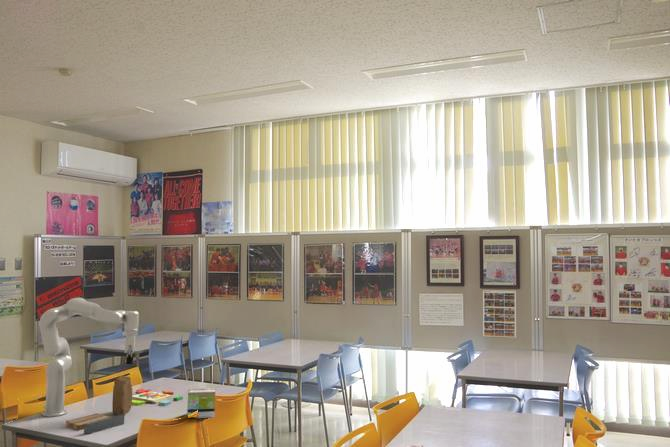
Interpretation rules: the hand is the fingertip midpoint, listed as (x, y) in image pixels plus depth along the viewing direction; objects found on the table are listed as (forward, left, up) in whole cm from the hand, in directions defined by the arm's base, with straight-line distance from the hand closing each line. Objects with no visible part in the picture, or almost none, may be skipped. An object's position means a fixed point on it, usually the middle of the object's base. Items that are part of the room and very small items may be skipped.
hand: (129, 362), depth 314 cm
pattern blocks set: (-15, +30, -30) cm, 45 cm away
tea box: (+38, +21, -29) cm, 52 cm away
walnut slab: (0, -24, -30) cm, 38 cm away
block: (-4, 0, -29) cm, 29 cm away
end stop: (+14, -24, -29) cm, 40 cm away
